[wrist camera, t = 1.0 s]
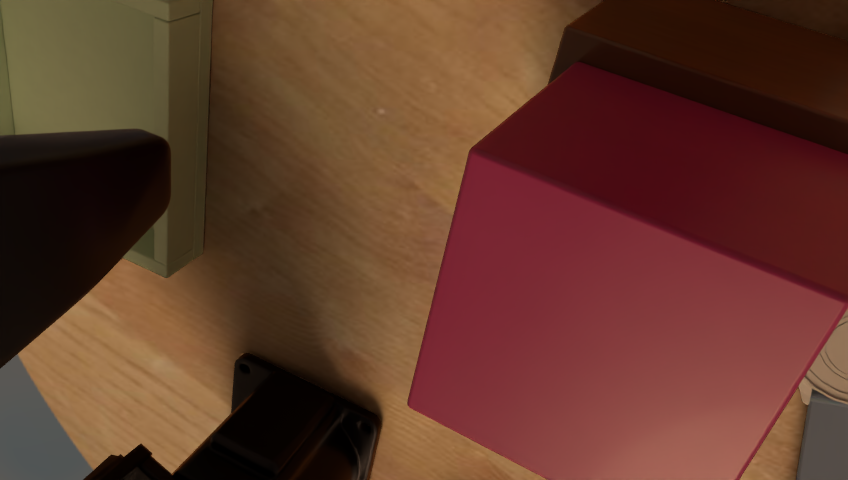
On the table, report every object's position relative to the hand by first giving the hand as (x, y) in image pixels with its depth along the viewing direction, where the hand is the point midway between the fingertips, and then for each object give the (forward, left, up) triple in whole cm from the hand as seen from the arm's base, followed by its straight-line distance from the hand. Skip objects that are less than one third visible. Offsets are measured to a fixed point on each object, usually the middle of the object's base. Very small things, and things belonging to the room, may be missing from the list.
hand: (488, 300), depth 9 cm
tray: (-8, +18, -13) cm, 24 cm away
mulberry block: (-2, -2, -7) cm, 7 cm away
